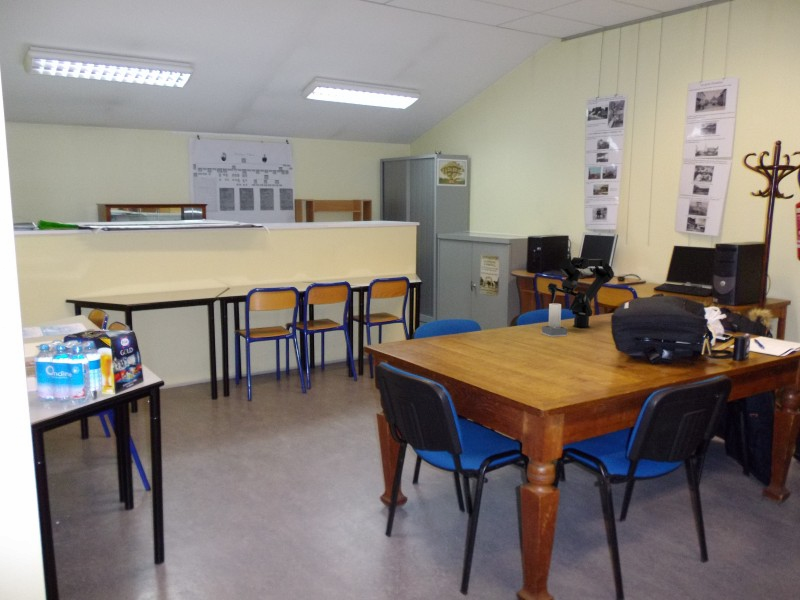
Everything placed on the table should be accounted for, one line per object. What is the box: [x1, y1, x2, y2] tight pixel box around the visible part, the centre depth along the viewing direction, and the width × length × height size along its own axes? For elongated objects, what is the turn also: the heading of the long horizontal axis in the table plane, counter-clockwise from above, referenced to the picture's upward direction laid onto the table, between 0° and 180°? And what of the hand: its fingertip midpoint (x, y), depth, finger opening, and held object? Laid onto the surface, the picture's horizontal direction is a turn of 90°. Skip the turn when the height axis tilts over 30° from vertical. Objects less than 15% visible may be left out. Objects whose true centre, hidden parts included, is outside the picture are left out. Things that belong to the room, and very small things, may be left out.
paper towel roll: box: [548, 302, 562, 329], centre depth 316 cm, size 6×6×14 cm
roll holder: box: [540, 325, 568, 338], centre depth 317 cm, size 9×9×4 cm
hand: (560, 307), depth 325 cm, fingers open, 9 cm apart
